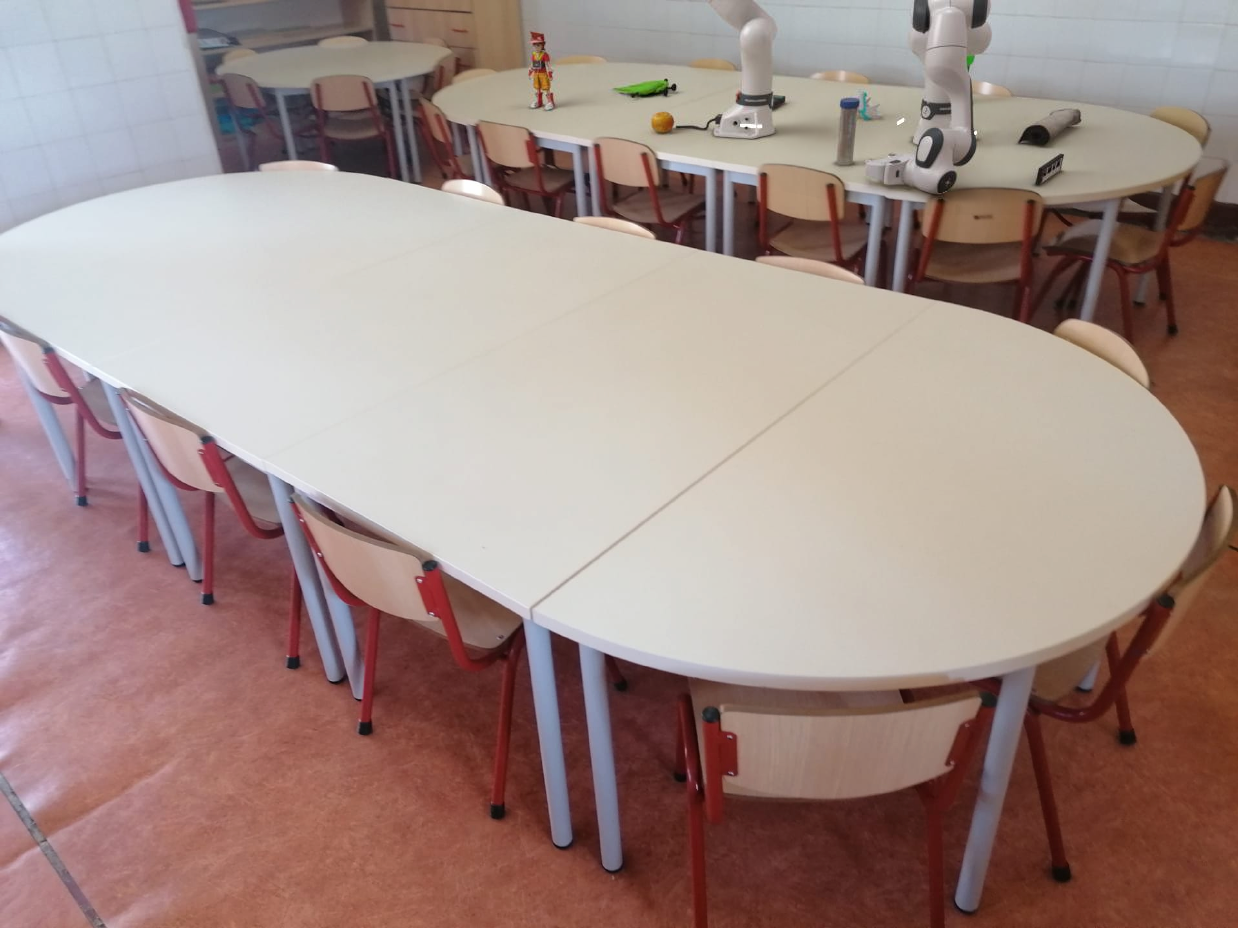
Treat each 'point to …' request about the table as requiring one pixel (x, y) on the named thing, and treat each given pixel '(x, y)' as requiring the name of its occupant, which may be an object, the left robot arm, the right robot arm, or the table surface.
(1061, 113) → the rolled mat
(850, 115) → the jar
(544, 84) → the toy
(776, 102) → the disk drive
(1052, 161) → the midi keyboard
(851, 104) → the lid
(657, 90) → the toy
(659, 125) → the fruit
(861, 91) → the anatomical model
